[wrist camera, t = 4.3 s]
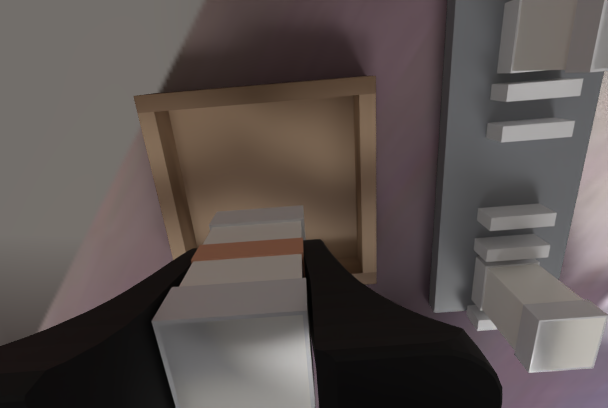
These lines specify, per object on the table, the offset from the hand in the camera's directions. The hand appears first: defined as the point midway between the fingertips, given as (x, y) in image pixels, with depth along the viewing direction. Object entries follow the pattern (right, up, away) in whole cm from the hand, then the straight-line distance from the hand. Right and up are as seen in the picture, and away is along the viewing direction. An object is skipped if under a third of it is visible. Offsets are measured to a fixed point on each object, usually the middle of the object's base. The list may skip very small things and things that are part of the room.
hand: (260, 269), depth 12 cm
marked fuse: (0, +1, +2) cm, 2 cm away
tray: (0, +3, +9) cm, 10 cm away
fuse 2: (+14, -2, +10) cm, 18 cm away
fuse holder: (+13, +4, +9) cm, 17 cm away
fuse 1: (+13, +11, +6) cm, 18 cm away
